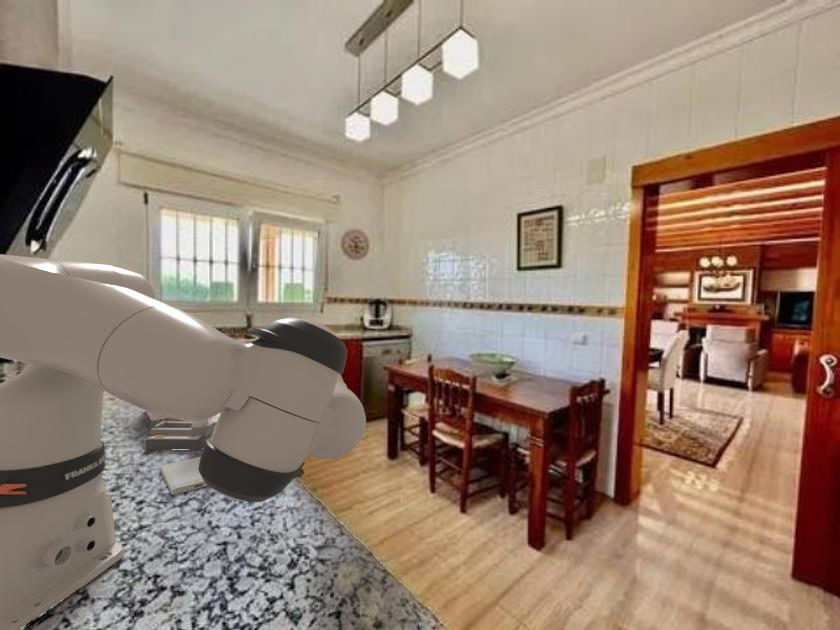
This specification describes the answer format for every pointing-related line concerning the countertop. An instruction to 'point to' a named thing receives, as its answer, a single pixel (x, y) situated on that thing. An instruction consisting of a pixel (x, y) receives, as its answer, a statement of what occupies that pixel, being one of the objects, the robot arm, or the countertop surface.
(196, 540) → the countertop surface
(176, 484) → the hard drive
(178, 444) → the switch base
